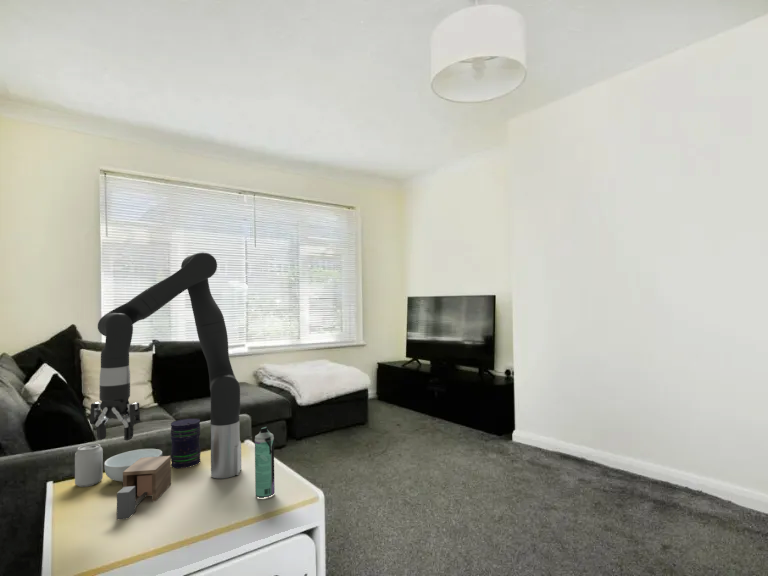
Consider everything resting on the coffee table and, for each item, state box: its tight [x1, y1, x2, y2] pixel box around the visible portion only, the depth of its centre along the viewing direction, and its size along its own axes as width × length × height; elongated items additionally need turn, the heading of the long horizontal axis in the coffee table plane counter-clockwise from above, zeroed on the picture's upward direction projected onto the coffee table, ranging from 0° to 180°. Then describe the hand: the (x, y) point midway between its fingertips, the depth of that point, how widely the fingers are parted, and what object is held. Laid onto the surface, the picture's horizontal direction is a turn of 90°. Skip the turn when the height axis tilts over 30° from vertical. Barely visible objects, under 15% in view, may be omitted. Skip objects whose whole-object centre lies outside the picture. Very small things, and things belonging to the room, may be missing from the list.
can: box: [74, 443, 104, 488], centre depth 141 cm, size 8×8×12 cm
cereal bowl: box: [103, 448, 163, 483], centre depth 144 cm, size 17×17×7 cm
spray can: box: [254, 426, 276, 498], centre depth 128 cm, size 6×6×20 cm
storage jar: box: [170, 417, 201, 469], centre depth 157 cm, size 10×10×15 cm
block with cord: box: [116, 474, 152, 520], centre depth 125 cm, size 5×20×7 cm, turn 7°
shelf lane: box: [122, 455, 172, 502], centre depth 132 cm, size 9×12×9 cm
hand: (114, 439), depth 124 cm, fingers open, 8 cm apart
